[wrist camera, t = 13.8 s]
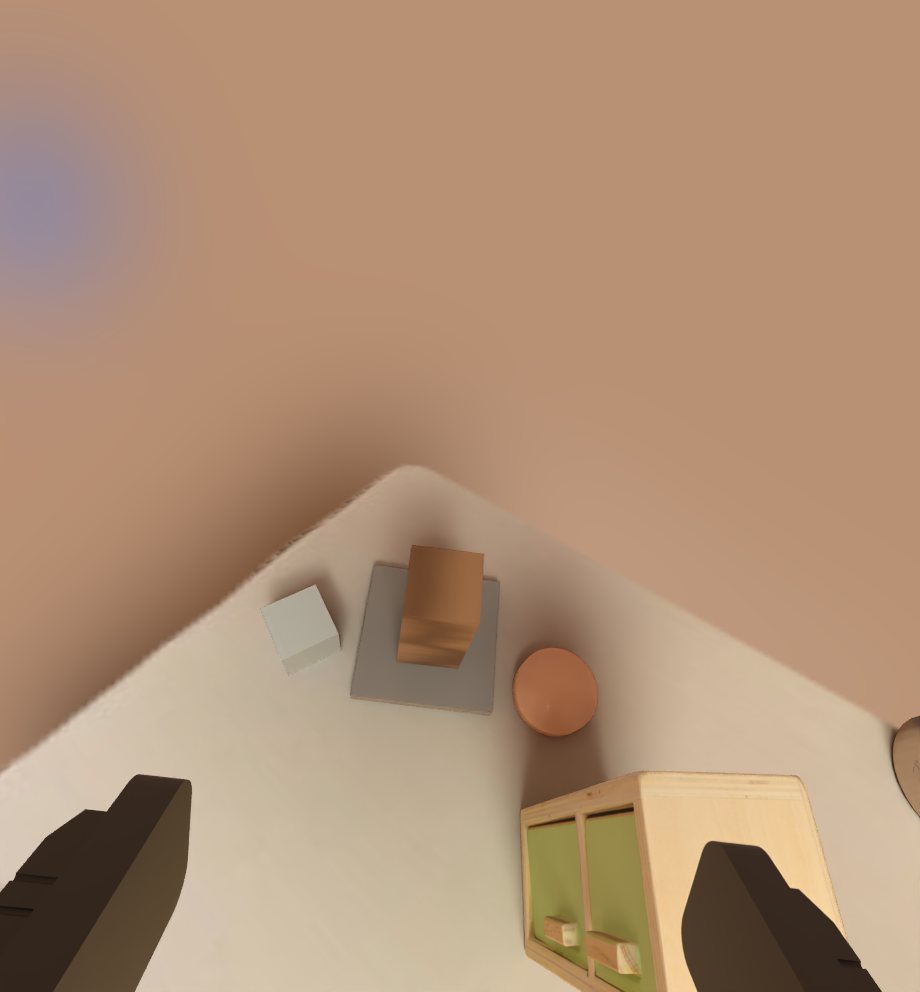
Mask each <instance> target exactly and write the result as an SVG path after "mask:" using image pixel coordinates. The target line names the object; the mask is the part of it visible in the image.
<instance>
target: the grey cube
mask: <svg viewBox="0 0 920 992" xmlns="http://www.w3.org/2000/svg"><path fill="white" fill-rule="evenodd" d="M260 610H261V613H262V615H263V617H264V620H265V622H266V625H267V627H268V630H269V632H270V634H271V637H272V639H273V642H274V644H275V646H276V649H277V651H278V654H279V656H280V659H281V661H282V663H283V665H284V667H285V669H286V672H287V674H288V676H289V675H291V674H293V673H295V672H298V671H300V670H302V669H304V668H306V667H308V666H310V665H312V664H314V663H316V662H318V661H320V660H322V659H324V658H326V657H328V656H330V655H332V654H334V653H336V652H338V651H340V650H341V647H340V640H339V634H338V631H337V629H336V627H335V625H334V623H333V621H332V619H331V616H330V614H329V612H328V610H327V608H326V606H325V604H324V601H323V599H322V597H321V595H320V593H319V591H318V589H317V586H316V584H315V585H313V586H311V587H308V588H306V589H304V590H302V591H299V592H297V593H295V594H292V595H290V596H288V597H286V598H283V599H281V600H279V601H276V602H274V603H272V604H270V605H267V606H265V607H263V608H261V609H260Z"/></svg>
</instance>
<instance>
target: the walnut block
mask: <svg viewBox="0 0 920 992" xmlns="http://www.w3.org/2000/svg"><path fill="white" fill-rule="evenodd" d="M483 561H484V554H481V553H473V552H464V551H456V550H448V549H440V548H432V547H424V546H416V545H412V548H411V555H410V563H409V570H408V578H407V585H406V593H405V601H404V608H403V616H402V624H401V631H400V639H399V647H398V654H397V662H399V663H408V664H417V665H426V666H435V667H445V668H454V669H458V668H459V666H460V664H461V662H462V660H463V658H464V656H465V654H466V652H467V650H468V648H469V645H470V643H471V641H472V639H473V637H474V635H475V633H476V631H477V629H478V627H479V625H480V615H481V597H482V579H483Z"/></svg>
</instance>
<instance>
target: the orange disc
mask: <svg viewBox="0 0 920 992" xmlns="http://www.w3.org/2000/svg"><path fill="white" fill-rule="evenodd" d="M512 694H513V700H514V704H515V707H516V709H517V711H518V713H519V715H520V716H521V718H522V719H523V720H524V722H525V723H526V724H527V725H528V726H529V727H531V728H532V729H533V730H535V731H537V732H539V733H541V734H543V735H547V736H553V737H561V736H566V735H568V734H571V733H573V732H575V731H576V730H578V729H580V728H582V727H583V726H584V725H586V723H587V722H588V721H589V720H590V719H591V717H592V716H593V714H594V712H595V709H596V706H597V701H598V690H597V684H596V681H595V678H594V676H593V674H592V672H591V670H590V669H589V667H588V666H587V665H586V664H585V662H584V661H583V660H582V659H580V658H579V657H578V656H576V655H575V654H573V653H571V652H570V651H567V650H564V649H560V648H545V649H541V650H538V651H536V652H534V653H533V654H531V655H530V656H529V657H528V658H527V659H526V660H525V661H524V662H523V664H522V665H521V666H520V667H519V669H518V671H517V672H516V675H515V677H514V681H513V686H512Z"/></svg>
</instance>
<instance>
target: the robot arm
mask: <svg viewBox="0 0 920 992" xmlns="http://www.w3.org/2000/svg"><path fill="white" fill-rule="evenodd" d="M893 760H894V768H895V771H896V774H897V778H898V781H899V783H900V786H901V788H902V790H903V792H904V794H905V796H906V798H907V799H908V801H909V802H910V804H911V805H912V807H913V808H914V810H915V811H916V812H917V814H918V815H919V816H920V716H918V717H915V718H911V719H910V720H908V721H907V722H905V723H904V724H903V725H902V726H901V728H900V729H899V730H898V732H897V734H896V737H895V740H894V746H893ZM191 797H192V785H191V782H190V780H186V779H177V778H168V777H159V776H150V775H141V774H138V775H136V776H134V777H133V778H132V779H131V780H130V781H129V782H128V784H127V785H126V786H125V788H124V789H123V790H122V792H121V793H120V795H119V796H118V797H117V799H116V800H115V801H114V803H113V804H112V805H111V807H110V808H109V809H108V811H107V812H105V811H96V810H87V809H85V810H84V811H83V812H81V813H80V814H78V815H77V816H75V817H74V818H73V819H71V820H70V821H68V822H67V823H66V824H64V825H63V826H61V827H60V828H58V829H57V830H56V831H54V832H53V833H51V834H50V835H48V836H47V837H46V838H45V839H44V840H43V841H42V843H41V844H40V845H39V846H38V847H37V849H36V850H35V851H34V852H33V853H32V855H31V856H30V857H29V858H28V859H27V861H26V862H25V863H24V864H23V866H22V867H21V868H20V869H19V870H18V872H17V873H16V876H15V878H14V880H13V881H9V882H8V884H7V885H6V886H5V887H4V888H3V890H2V891H1V892H0V992H135V990H136V988H137V986H138V984H139V982H140V980H141V977H142V975H143V973H144V971H145V969H146V967H147V965H148V963H149V961H150V959H151V957H152V955H153V953H154V951H155V949H156V947H157V945H158V943H159V941H160V939H161V937H162V934H163V932H164V930H165V928H166V926H167V924H168V922H169V920H170V918H171V916H172V914H173V912H174V909H175V907H176V904H177V902H178V899H179V896H180V893H181V890H182V886H183V883H184V879H185V874H186V869H187V861H188V846H189V830H190V813H191ZM681 937H682V946H683V952H684V957H685V960H686V964H687V967H688V970H689V972H690V975H691V977H692V980H693V982H694V985H695V987H696V990H697V992H882V991H881V990H880V988H879V987H878V985H877V984H876V983H875V981H874V980H873V978H872V977H871V975H870V974H869V972H868V971H867V970H866V969H862V967H861V961H860V959H859V958H858V957H857V955H856V954H855V952H854V951H853V949H852V948H851V946H850V945H849V944H848V942H847V941H846V939H845V938H844V936H843V935H842V933H841V932H840V931H839V929H838V928H837V926H836V925H835V923H834V922H833V921H832V920H831V919H830V918H829V917H828V916H827V915H826V914H825V913H823V912H822V911H821V910H820V909H819V908H818V907H817V906H816V905H815V904H814V903H813V902H812V901H811V900H810V899H809V898H808V897H807V896H806V895H805V894H804V893H803V892H801V891H800V890H799V889H796V888H790V887H789V885H788V884H787V882H786V881H785V879H784V878H783V876H782V875H781V873H780V872H779V870H778V869H777V867H776V866H775V864H774V862H773V861H772V859H771V858H770V856H769V855H768V854H767V852H766V851H764V850H763V849H762V848H761V847H759V846H754V845H745V844H737V843H728V842H719V841H709V842H708V843H707V844H706V845H705V846H704V848H703V851H702V854H701V857H700V860H699V863H698V867H697V870H696V873H695V877H694V880H693V883H692V887H691V890H690V893H689V896H688V900H687V903H686V906H685V910H684V913H683V917H682V924H681Z"/></svg>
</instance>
